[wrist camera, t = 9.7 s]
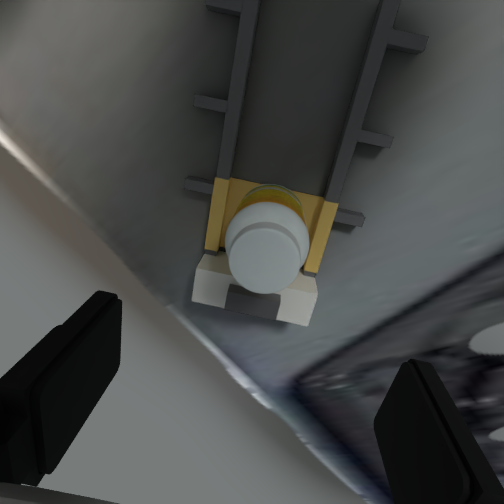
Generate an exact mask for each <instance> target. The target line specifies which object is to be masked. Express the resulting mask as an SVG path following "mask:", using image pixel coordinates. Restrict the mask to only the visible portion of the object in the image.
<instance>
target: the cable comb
mask: <svg viewBox="0 0 504 504" xmlns="http://www.w3.org/2000/svg"><path fill="white" fill-rule="evenodd" d="M400 2H401V0H380V3H379V6H378V10H377V13H376V17H375V20H374V24H373V27H372V31H371V34H370V37H369V41H368V44H367V48H366V51H365V55H364V58H363V62H362V65H361V69H360V72H359V75H358V79H357V82H356V86H355V89H354V93H353V96H352V100H351V103H350V106H349V110H348V113H347V117H346V120H345V124H344V127H343V131H342V134H341V138H340V141H339V144H338V148H337V151H336V155H335V158H334V162H333V165H332V169H331V172H330V175H329V179H328V182H327V186H326V189H325V193H324V196H323V197H319V196H315V195H310V194H306V193H301V192H296V191H292V190H290V191H291V192H293V193H294V194H295V195H296V196H297V197H298V199H299V201H300V202H301V204H302V207H303V211H304V216H305V221H306V225H307V230H308V234H309V252H308V256H307V258H306V260H305V262H304V264H303V269H299V273H298V275H297V277H296V278H295V280H294V281H293V282H292V283H291V284H290V285H289V286H288V287H286V288H285V289H283V290H281V291H279V292H276V293H271V294H260V293H255V292H252V291H249V290H247V289H245V288H244V287H242V286H241V285H240V284H239V283H238V282H237V281H236V280H235V279H234V277H233V275H232V273H231V271H230V268H229V259H228V256H227V253H226V252H222V251H219V247H225V236H226V231H227V228H228V226H229V223H230V221H231V219H232V218H233V216H234V214H235V212H236V210H237V208H238V206H239V204H240V203H241V201H242V199H243V198H244V197H245V195H246V194H247V193H248V192H249V191H251V190H252V189H253V188H255V187H257V186H260V185H264V184H259V183H255V182H250V181H246V180H241V179H236V178H232V177H231V175H232V169H233V163H234V157H235V151H236V145H237V139H238V133H239V128H240V122H241V116H242V110H243V104H244V98H245V92H246V86H247V81H248V75H249V69H250V63H251V57H252V51H253V45H254V39H255V33H256V28H257V22H258V16H259V10H260V4H261V0H205V5H206V7H207V8H208V10H211V11H216V12H221V13H225V14H230V15H235V16H239V17H240V22H239V28H238V35H237V41H236V48H235V55H234V61H233V68H232V74H231V81H230V88H229V94H228V101H226V100H222V99H217V98H212V97H208V96H203V95H198V94H194V103H193V106H196V107H200V108H205V109H209V110H214V111H219V112H223V113H226V114H225V121H224V127H223V134H222V140H221V147H220V154H219V160H218V167H217V173H216V177H215V181H210V180H205V179H201V178H196V177H192V176H188V177H187V178H185V182H184V189H187V190H192V191H197V192H201V193H206V194H210V195H212V201H211V207H210V214H209V221H208V227H207V234H206V241H205V247H204V249H205V253H204V255H203V257H202V259H201V260H200V262H199V264H198V266H197V268H196V273H195V280H194V287H193V294H192V301H193V302H198V303H203V304H207V305H212V306H216V307H221V308H224V309H225V310H229V311H234V312H238V313H243V314H248V315H252V316H257V317H261V318H266V319H271V320H275V321H276V320H281V321H285V322H290V323H294V324H299V325H304V326H308V324H309V321H310V318H311V315H312V312H313V309H314V306H315V303H316V300H317V296H318V292H317V286H316V281H315V275H316V273H317V272H318V269H319V266H320V262H321V259H322V256H323V253H324V250H325V246H326V243H327V240H328V237H329V233H330V230H331V227H332V224H333V221H335V222H340V223H344V224H349V225H354V226H358V227H362V226H363V223H364V220H365V217H364V215H363V214H362V213H358V212H353V211H349V210H344V209H340V208H338V205H339V204H338V201H339V198H340V195H341V192H342V189H343V185H344V182H345V179H346V176H347V173H348V169H349V166H350V163H351V160H352V156H353V153H354V150H355V147H356V144H357V141H358V142H363V143H367V144H372V145H376V146H381V147H386V148H390V146H391V143H392V141H393V138H394V137H393V136H389V135H384V134H380V133H375V132H370V131H366V130H361V127H362V124H363V121H364V118H365V115H366V111H367V108H368V105H369V102H370V99H371V95H372V92H373V89H374V86H375V82H376V79H377V76H378V73H379V70H380V66H381V63H382V60H383V57H384V53H385V50H386V48H389V49H393V50H398V51H403V52H407V53H412V54H419V53H421V52H423V51H424V50H425V47H426V44H427V41H428V38H429V37H428V36H424V35H419V34H414V33H410V32H405V31H400V30H396V29H392V28H393V25H394V21H395V18H396V15H397V12H398V8H399V5H400Z"/></svg>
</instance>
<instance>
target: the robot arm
mask: <svg viewBox="0 0 504 504" xmlns="http://www.w3.org/2000/svg"><path fill="white" fill-rule="evenodd" d="M121 323H122V300H120V299H118V296H117V295H116V294H114V293H109V292H105V291H97V292H95V293H94V294H93V295H92V296H91V297H90V298H89V299H88V300H87V301H86V302H85V303H84V304H83V305H82V306H81V307H80V308H79V309H78V310H77V311H76V312H75V313H74V314H73V315H72V316H70V317H69V318H68V320H66V321H65V322H64V323H63V324H62V325H58V326H56V327H55V328H53V329H52V330H51V331H50V332H49V333H48V334H47V335H46V336H45V337H44V338H43V339H42V340H41V341H40V342H39V343H37V344H36V345H35V346H34V347H33V348H32V349H31V350H30V351H29V352H28V353H27V354H26V355H25V356H24V357H23V358H22V359H20V360H19V361H18V362H17V363H16V364H15V365H14V366H13V367H12V368H11V369H10V370H9V371H8V372H7V373H6V374H5V375H4V376H2V377H1V378H0V504H118V503H114V502H109V501H104V500H100V499H95V498H90V497H84V496H80V495H74V494H69V493H64V492H59V491H54V490H49V489H44V488H39V487H37V486H38V484H39V483H40V481H41V479H42V478H43V476H44V475H45V474H51V473H52V472H53V471H54V469H55V468H56V467H57V465H58V464H59V462H60V460H61V459H62V457H63V456H64V454H65V453H66V451H67V449H68V448H69V446H70V445H71V443H72V442H73V440H74V438H75V437H76V435H77V434H78V432H79V431H80V429H81V428H82V426H83V424H84V423H85V421H86V420H87V418H88V416H89V415H90V414H91V412H92V410H93V409H94V407H95V406H96V404H97V402H98V401H99V399H100V398H101V396H102V395H103V393H104V392H105V390H106V388H107V387H108V385H109V384H110V382H111V381H112V379H113V378H114V376H115V374H116V373H117V371H118V368H119V365H120V353H121V352H120V351H121V325H122V324H121ZM374 431H375V435H376V439H377V442H378V446H379V449H380V453H381V456H382V460H383V464H384V467H385V471H386V474H387V478H388V482H389V485H390V489H391V492H392V496H393V500H394V503H395V504H504V488H503V487H502V485H501V483H500V481H499V480H498V478H497V476H496V475H495V473H494V471H493V469H492V468H491V466H490V464H489V462H488V461H487V459H486V457H485V455H484V454H483V452H482V450H481V449H480V447H479V445H478V443H477V442H476V440H475V438H474V436H473V435H472V433H471V431H470V429H469V428H468V426H467V424H466V423H465V421H464V419H463V417H462V416H461V414H460V412H459V410H458V409H457V407H456V405H455V403H454V402H453V400H452V398H451V397H450V395H449V393H448V391H447V390H446V388H445V386H444V384H443V383H442V381H441V379H440V377H439V376H438V374H437V372H436V371H435V369H434V367H433V366H432V364H431V363H429V362H424V361H420V360H415V359H410V360H408V362H404V363H403V364H402V365H401V367H400V369H399V371H398V373H397V375H396V377H395V379H394V381H393V383H392V385H391V387H390V389H389V391H388V393H387V395H386V397H385V399H384V401H383V402H382V404H381V406H380V408H379V410H378V412H377V414H376V416H375V419H374ZM21 484H27V485H31V486H25V485H21ZM32 486H35V487H32Z"/></svg>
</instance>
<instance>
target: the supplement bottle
mask: <svg viewBox="0 0 504 504" xmlns="http://www.w3.org/2000/svg"><path fill="white" fill-rule="evenodd" d="M225 249H226V253H227V256H228V259H229V268H230V271H231V273H232V275H233V277H234V279H235V280H236V281H237V282H238V283H239V284H240V285H241V286H242V287H244V288H245V289H247V290H249V291H252V292H255V293H260V294H271V293H276V292H279V291H281V290H283V289H285V288H286V287H288V286H289V285H290V284H291V283H292V282H293V281H294V280H295V278H296V277H297V275H298V273H299V269H300V268H301V267H302V265H303V264H304V262H305V260H306V258H307V256H308V252H309V234H308V230H307V225H306V221H305V216H304V211H303V207H302V204H301V202H300V201H299V199H298V197H297V196H296V195H295V194H294V193H293V192H291V191H290V190H289V189H287V188H285V187H283V186H280V185H277V184H264V185H260V186H257V187H255V188H253V189H252V190H251V191H249V192H248V193H247V194H246V195H245V197H244V198H243V199H242V201H241V203H240V204H239V206H238V208H237V210H236V212H235V214H234V216H233V218H232V219H231V221H230V223H229V226H228V228H227V231H226V236H225Z"/></svg>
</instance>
